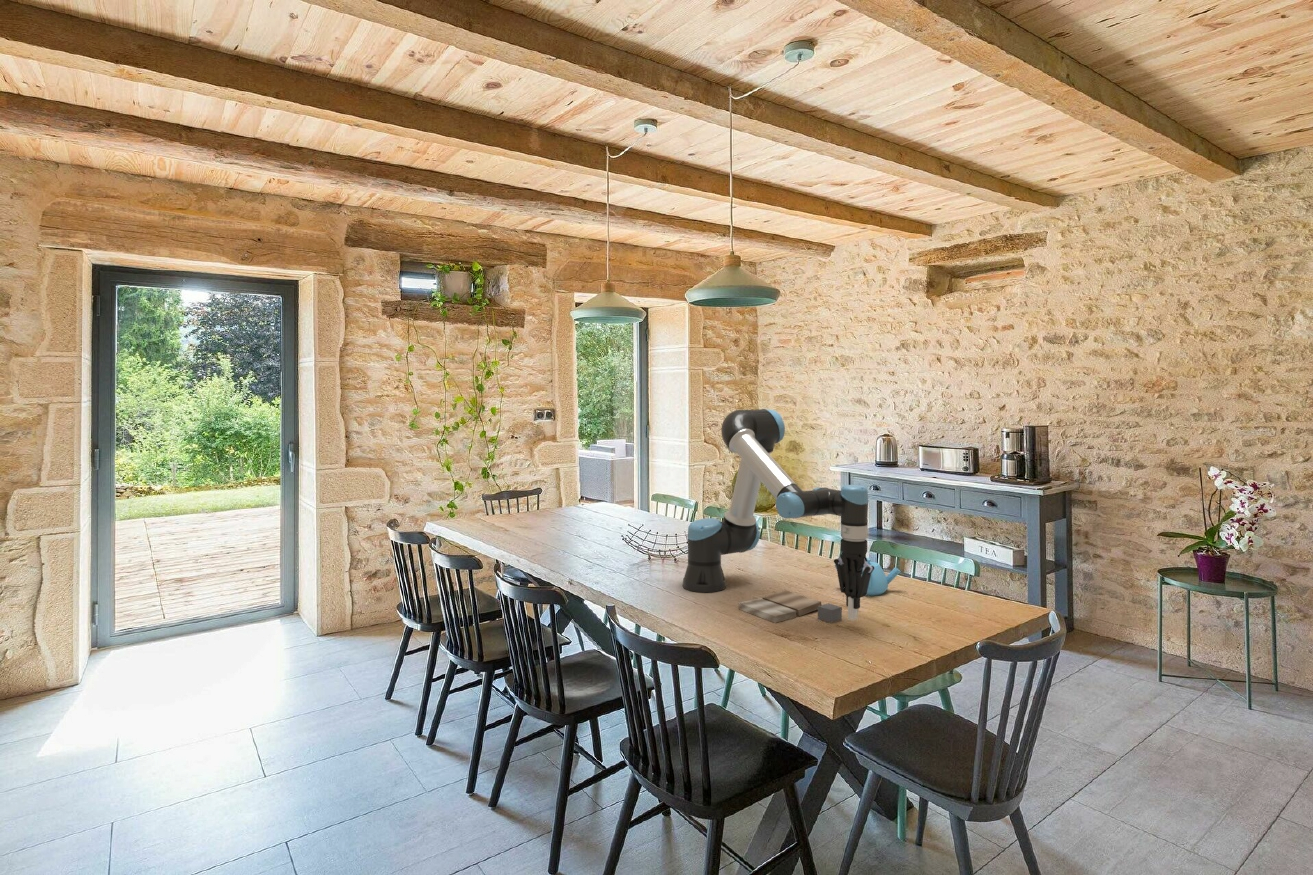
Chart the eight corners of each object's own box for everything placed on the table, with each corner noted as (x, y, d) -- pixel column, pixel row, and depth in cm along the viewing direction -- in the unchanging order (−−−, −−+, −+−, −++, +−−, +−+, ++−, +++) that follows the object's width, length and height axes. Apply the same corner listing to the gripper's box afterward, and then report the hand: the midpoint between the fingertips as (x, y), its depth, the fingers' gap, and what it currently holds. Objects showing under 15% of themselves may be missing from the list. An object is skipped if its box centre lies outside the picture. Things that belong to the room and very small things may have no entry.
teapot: (876, 600, 230) (877, 567, 229) (832, 589, 243) (833, 557, 242) (901, 592, 240) (902, 559, 239) (858, 581, 253) (858, 551, 252)
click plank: (762, 603, 227) (762, 597, 226) (784, 595, 232) (784, 589, 232) (799, 616, 214) (798, 609, 213) (821, 607, 219) (821, 601, 219)
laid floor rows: (738, 609, 221) (738, 602, 221) (759, 604, 226) (759, 597, 226) (774, 622, 208) (775, 616, 208) (796, 617, 213) (796, 610, 213)
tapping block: (817, 619, 212) (817, 606, 211) (828, 615, 215) (828, 603, 214) (830, 623, 208) (831, 610, 207) (841, 620, 211) (841, 607, 210)
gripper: (827, 536, 206) (826, 615, 207) (863, 544, 195) (862, 627, 196) (844, 533, 210) (843, 610, 211) (881, 540, 199) (879, 622, 201)
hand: (852, 618), depth 204 cm, fingers closed
